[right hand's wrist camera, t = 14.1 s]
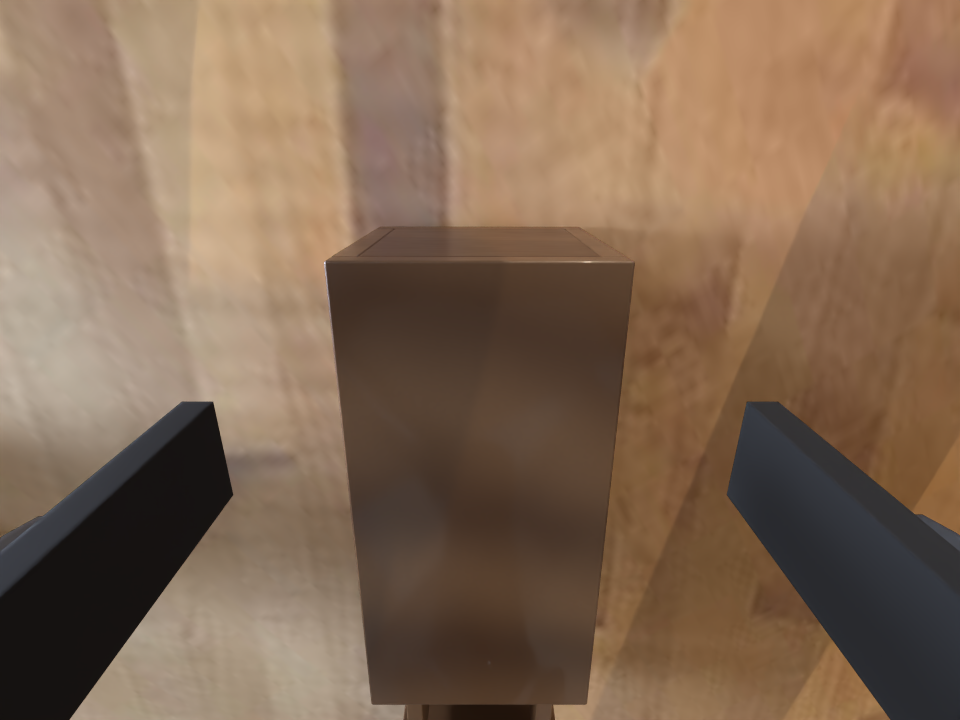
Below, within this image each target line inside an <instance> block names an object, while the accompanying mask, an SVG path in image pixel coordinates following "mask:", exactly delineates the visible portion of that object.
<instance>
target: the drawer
mask: <svg viewBox="0 0 960 720" xmlns="http://www.w3.org/2000/svg"><path fill="white" fill-rule="evenodd" d="M403 720H555V716H554V708H553V705H405V712H404V719H403Z"/></svg>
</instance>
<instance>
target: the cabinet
mask: <svg viewBox="0 0 960 720" xmlns="http://www.w3.org/2000/svg"><path fill="white" fill-rule="evenodd" d="M324 266H325V275H326V285H327V294H328V303H329V312H330V322H331V331H332V340H333V350H334V359H335V368H336V377H337V387H338V396H339V405H340V414H341V424H342V433H343V442H344V452H345V461H346V470H347V479H348V489H349V498H350V507H351V517H352V526H353V535H354V544H355V554H356V563H357V572H358V582H359V591H360V600H361V609H362V619H363V628H364V637H365V647H366V656H367V665H368V674H369V684H370V693H371V702H372V704H373V705H585V704H587V697H588V688H589V679H590V670H591V661H592V651H593V642H594V633H595V624H596V615H597V605H598V596H599V587H600V578H601V569H602V560H603V550H604V541H605V532H606V523H607V514H608V504H609V495H610V486H611V477H612V468H613V459H614V449H615V440H616V431H617V422H618V413H619V403H620V394H621V385H622V376H623V367H624V357H625V348H626V339H627V330H628V321H629V312H630V302H631V293H632V284H633V275H634V266H635V263H634V261H633V260H631V259H629V258H628V257H626V256H625V255H623V254H622V253H620V252H618V251H617V250H615V249H614V248H612V247H610V246H609V245H607V244H605V243H604V242H602V241H601V240H599V239H597V238H596V237H594V236H593V235H591V234H589V233H588V232H586V231H584V230H583V229H581V228H579V227H379V228H377V229H376V230H374V231H372V232H371V233H369V234H367V235H366V236H364V237H363V238H361V239H359V240H358V241H356V242H354V243H353V244H351V245H350V246H348V247H346V248H345V249H343V250H341V251H340V252H338V253H337V254H335V255H333V256H332V257H331V258H329V259H327V260H326V261H325V262H324Z"/></svg>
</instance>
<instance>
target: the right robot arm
mask: <svg viewBox="0 0 960 720" xmlns="http://www.w3.org/2000/svg"><path fill="white" fill-rule="evenodd" d="M232 496H233V492H232V487H231V482H230V478H229V473H228V468H227V464H226V459H225V455H224V450H223V445H222V441H221V436H220V431H219V427H218V422H217V418H216V413H215V408H214V404H213V402H181V403H180V404H179V405H177V406H176V407H175V408H174V409H172V410H171V411H170V412H169V413H168V414H166V415H165V416H164V417H163V418H162V419H160V420H159V421H158V422H157V423H155V424H154V425H153V426H152V427H151V428H149V429H148V430H147V431H146V432H145V433H143V434H142V435H141V436H140V437H139V438H137V439H136V440H135V441H134V442H132V443H131V444H130V445H129V446H128V447H126V448H125V449H124V450H123V451H122V452H120V453H119V454H118V455H117V456H115V457H114V458H113V459H112V460H111V461H109V462H108V463H107V464H106V465H105V466H103V467H102V468H101V469H100V470H98V471H97V472H96V473H95V474H94V475H92V476H91V477H90V478H89V479H88V480H86V481H85V482H84V483H83V484H81V485H80V486H79V487H78V488H77V489H75V490H74V491H73V492H72V493H71V494H69V495H68V496H67V497H66V498H64V499H63V500H62V501H61V502H60V503H58V504H57V505H56V506H55V507H54V508H52V509H51V510H50V511H49V512H47V513H46V514H45V515H44V516H38V517H36V518H34V519H33V520H31V521H29V522H27V523H25V524H23V525H22V526H20V527H18V528H16V529H14V530H12V531H11V532H9V533H7V534H5V535H3V536H2V537H1V538H0V720H70V718H71V717H72V715H73V714H74V713H75V711H76V710H77V709H78V707H79V706H80V704H81V703H82V702H83V700H84V699H85V698H86V696H87V695H88V693H89V692H90V691H91V689H92V688H93V687H94V685H95V684H96V682H97V681H98V680H99V678H100V677H101V676H102V674H103V673H104V672H105V670H106V669H107V667H108V666H109V665H110V663H111V662H112V661H113V659H114V658H115V656H116V655H117V654H118V652H119V651H120V650H121V648H122V647H123V645H124V644H125V643H126V641H127V640H128V639H129V637H130V636H131V634H132V633H133V632H134V630H135V629H136V628H137V626H138V625H139V623H140V622H141V621H142V619H143V618H144V617H145V615H146V614H147V612H148V611H149V610H150V608H151V607H152V606H153V604H154V603H155V602H156V600H157V599H158V597H159V596H160V595H161V593H162V592H163V591H164V589H165V588H166V586H167V585H168V584H169V582H170V581H171V580H172V578H173V577H174V575H175V574H176V573H177V571H178V570H179V569H180V567H181V566H182V564H183V563H184V562H185V560H186V559H187V558H188V556H189V555H190V553H191V552H192V551H193V549H194V548H195V547H196V545H197V544H198V543H199V541H200V540H201V538H202V537H203V536H204V534H205V533H206V532H207V530H208V529H209V527H210V526H211V525H212V523H213V522H214V521H215V519H216V518H217V516H218V515H219V514H220V512H221V511H222V510H223V508H224V507H225V505H226V504H227V503H228V501H229V500H230V499H231V497H232ZM727 496H728V497H729V499H730V500H731V501H732V503H733V504H734V505H735V507H736V508H737V510H738V511H739V512H740V514H741V515H742V516H743V518H744V519H745V521H746V522H747V523H748V525H749V526H750V527H751V529H752V530H753V532H754V533H755V534H756V536H757V537H758V538H759V540H760V541H761V543H762V544H763V545H764V547H765V548H766V549H767V551H768V552H769V553H770V555H771V556H772V558H773V559H774V560H775V562H776V563H777V564H778V566H779V567H780V569H781V570H782V571H783V573H784V574H785V575H786V577H787V578H788V580H789V581H790V582H791V584H792V585H793V586H794V588H795V589H796V591H797V592H798V593H799V595H800V596H801V597H802V599H803V600H804V602H805V603H806V604H807V606H808V607H809V608H810V610H811V611H812V612H813V614H814V615H815V617H816V618H817V619H818V621H819V622H820V623H821V625H822V626H823V628H824V629H825V630H826V632H827V633H828V634H829V636H830V637H831V639H832V640H833V641H834V643H835V644H836V645H837V647H838V648H839V650H840V651H841V652H842V654H843V655H844V656H845V658H846V659H847V661H848V662H849V663H850V665H851V666H852V667H853V669H854V670H855V672H856V673H857V674H858V676H859V677H860V678H861V680H862V681H863V682H864V684H865V685H866V687H867V688H868V689H869V691H870V692H871V693H872V695H873V696H874V698H875V699H876V700H877V702H878V703H879V704H880V706H881V707H882V709H883V710H884V711H885V713H886V714H887V715H888V717H889V718H890V720H960V535H958V534H957V533H955V532H954V531H952V530H950V529H948V528H946V527H944V526H943V525H941V524H939V523H937V522H935V521H933V520H931V519H930V518H928V517H926V516H924V515H915V514H914V513H913V512H911V511H910V510H909V509H908V508H906V507H905V506H904V505H903V504H902V503H900V502H899V501H898V500H897V499H896V498H894V497H893V496H892V495H891V494H889V493H888V492H887V491H886V490H885V489H883V488H882V487H881V486H880V485H879V484H877V483H876V482H875V481H874V480H872V479H871V478H870V477H869V476H868V475H866V474H865V473H864V472H863V471H862V470H860V469H859V468H858V467H857V466H855V465H854V464H853V463H852V462H851V461H849V460H848V459H847V458H846V457H845V456H843V455H842V454H841V453H840V452H838V451H837V450H836V449H835V448H834V447H832V446H831V445H830V444H829V443H828V442H826V441H825V440H824V439H823V438H821V437H820V436H819V435H818V434H817V433H815V432H814V431H813V430H812V429H811V428H809V427H808V426H807V425H806V424H805V423H803V422H802V421H801V420H800V419H798V418H797V417H796V416H795V415H794V414H792V413H791V412H790V411H789V410H788V409H786V408H785V407H784V406H783V405H781V404H780V403H779V402H747V404H746V408H745V413H744V418H743V422H742V427H741V431H740V436H739V441H738V445H737V450H736V455H735V459H734V464H733V468H732V473H731V478H730V482H729V487H728V492H727Z"/></svg>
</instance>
